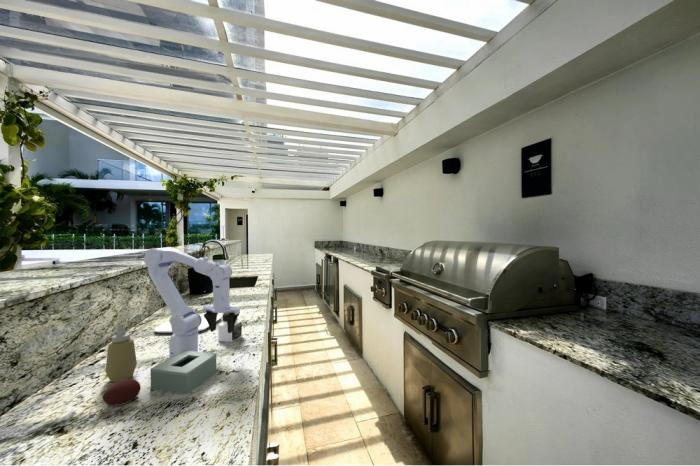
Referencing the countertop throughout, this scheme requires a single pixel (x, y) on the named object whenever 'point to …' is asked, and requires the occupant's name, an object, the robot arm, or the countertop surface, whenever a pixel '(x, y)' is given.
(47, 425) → the countertop surface
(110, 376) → the squeeze bottle
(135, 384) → the potato
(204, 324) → the plate
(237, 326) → the medicine bottle
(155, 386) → the box
